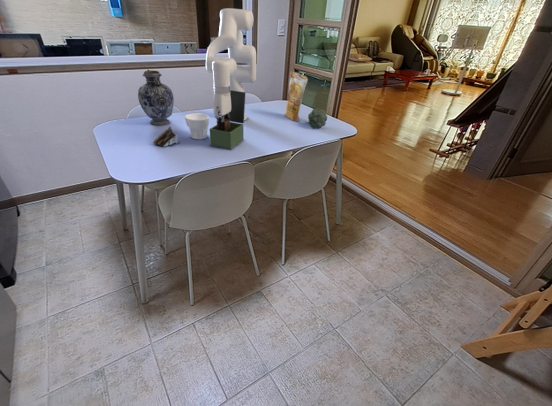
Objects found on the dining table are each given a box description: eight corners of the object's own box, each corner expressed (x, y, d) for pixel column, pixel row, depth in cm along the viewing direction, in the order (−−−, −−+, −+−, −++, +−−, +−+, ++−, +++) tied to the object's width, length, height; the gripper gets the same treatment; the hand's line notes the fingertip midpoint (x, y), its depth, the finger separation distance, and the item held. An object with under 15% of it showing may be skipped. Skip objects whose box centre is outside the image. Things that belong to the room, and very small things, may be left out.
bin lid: (244, 92, 144) (245, 92, 144) (224, 89, 147) (225, 89, 147) (243, 123, 150) (243, 123, 151) (223, 120, 153) (224, 119, 154)
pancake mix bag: (290, 113, 202) (294, 70, 187) (304, 121, 188) (309, 76, 173) (282, 114, 200) (285, 70, 184) (295, 122, 186) (299, 76, 170)
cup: (185, 133, 159) (183, 113, 152) (208, 131, 163) (206, 112, 157) (189, 141, 149) (186, 120, 143) (213, 139, 154) (211, 119, 148)
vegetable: (322, 118, 190) (334, 114, 176) (312, 134, 188) (323, 131, 174) (309, 106, 185) (320, 102, 171) (298, 123, 184) (308, 119, 170)
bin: (231, 149, 144) (230, 133, 139) (210, 145, 147) (209, 128, 142) (243, 140, 156) (243, 124, 151) (224, 136, 159) (223, 120, 154)
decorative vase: (181, 125, 168) (175, 74, 153) (148, 130, 159) (138, 76, 144) (170, 115, 183) (163, 67, 167) (139, 119, 173) (128, 68, 158)
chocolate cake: (161, 150, 139) (176, 130, 140) (151, 143, 141) (166, 123, 141) (172, 156, 149) (186, 138, 149) (162, 149, 150) (176, 131, 151)
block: (225, 131, 142) (225, 122, 139) (217, 129, 143) (216, 120, 141) (230, 128, 146) (229, 119, 143) (221, 126, 147) (221, 117, 144)
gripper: (223, 85, 141) (225, 121, 152) (205, 92, 128) (208, 131, 138) (237, 87, 140) (238, 123, 150) (220, 94, 126) (222, 134, 136)
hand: (224, 127), depth 144 cm, fingers closed on block, 4 cm apart
